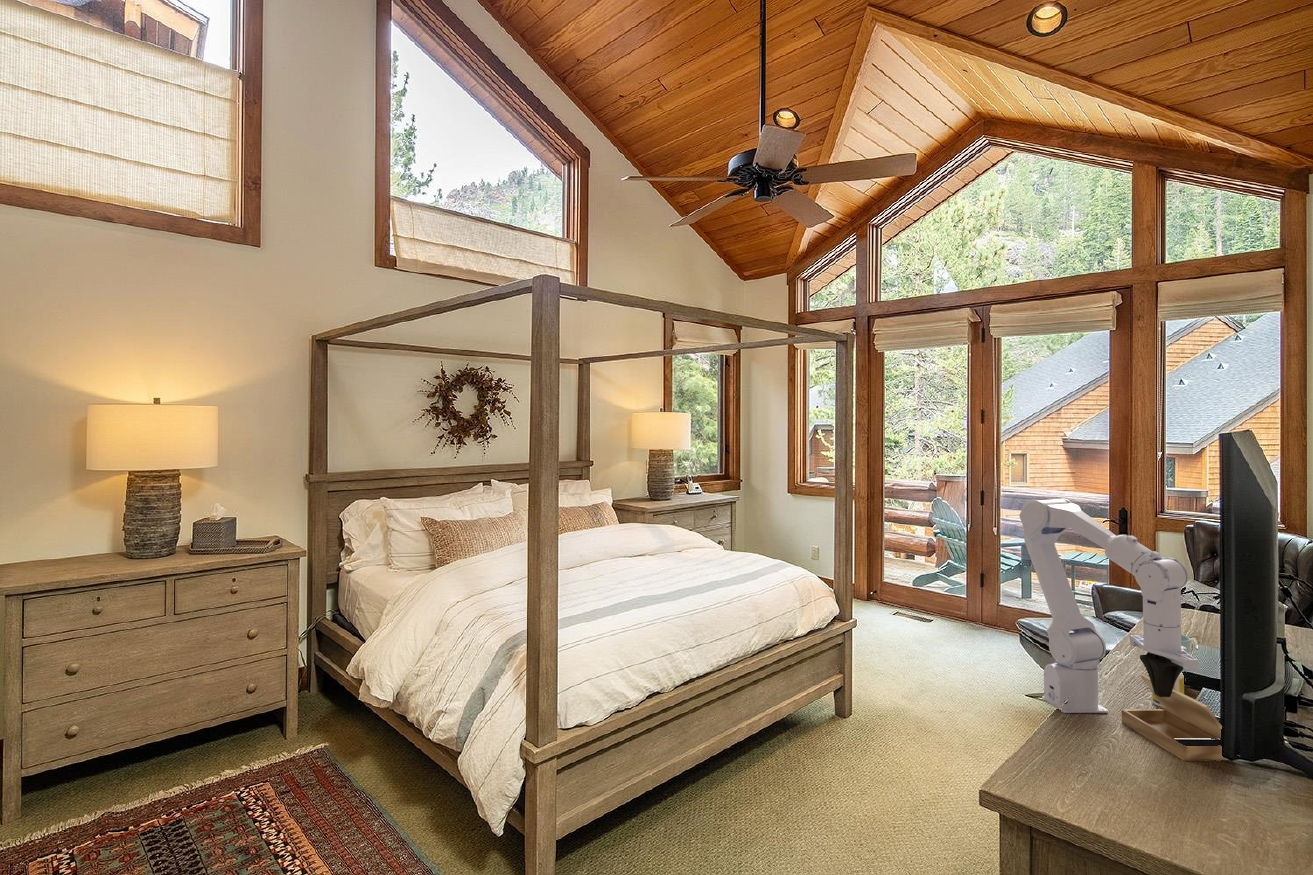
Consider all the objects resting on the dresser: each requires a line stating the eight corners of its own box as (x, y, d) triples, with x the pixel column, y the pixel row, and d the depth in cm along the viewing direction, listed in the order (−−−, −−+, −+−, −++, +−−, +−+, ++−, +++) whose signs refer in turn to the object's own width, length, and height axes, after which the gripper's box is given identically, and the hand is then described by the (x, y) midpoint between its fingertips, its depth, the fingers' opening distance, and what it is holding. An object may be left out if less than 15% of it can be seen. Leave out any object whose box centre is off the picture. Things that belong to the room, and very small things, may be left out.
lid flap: (1204, 707, 117) (1207, 705, 117) (1139, 674, 133) (1141, 673, 133) (1232, 746, 117) (1235, 744, 117) (1164, 708, 133) (1166, 707, 133)
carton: (1184, 761, 117) (1184, 746, 117) (1121, 721, 133) (1121, 709, 133) (1233, 760, 117) (1233, 746, 117) (1164, 721, 133) (1164, 709, 133)
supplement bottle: (1173, 700, 143) (1172, 655, 143) (1190, 710, 138) (1190, 663, 138) (1146, 699, 143) (1145, 654, 143) (1162, 710, 138) (1162, 663, 138)
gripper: (1215, 634, 117) (1216, 711, 117) (1154, 612, 132) (1155, 681, 132) (1175, 635, 117) (1176, 711, 117) (1119, 613, 132) (1119, 681, 132)
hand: (1162, 695), depth 125 cm, fingers closed
